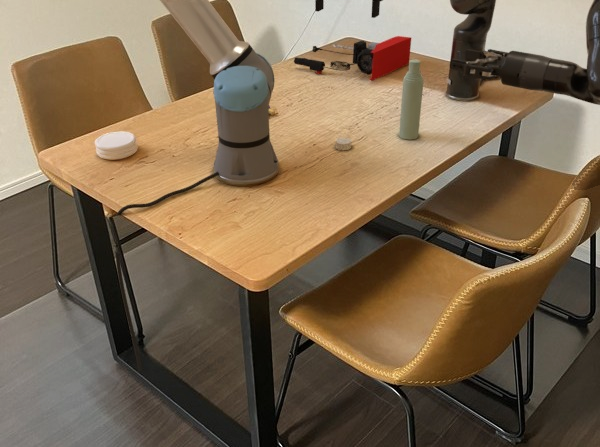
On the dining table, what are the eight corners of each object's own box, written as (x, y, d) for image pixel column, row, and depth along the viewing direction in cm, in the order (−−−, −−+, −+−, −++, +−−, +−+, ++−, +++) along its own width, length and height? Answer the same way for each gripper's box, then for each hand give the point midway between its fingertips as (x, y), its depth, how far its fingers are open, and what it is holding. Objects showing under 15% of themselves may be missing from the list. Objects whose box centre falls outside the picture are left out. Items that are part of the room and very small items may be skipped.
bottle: (401, 140, 159) (407, 64, 149) (396, 132, 163) (402, 58, 153) (420, 139, 160) (427, 63, 149) (415, 131, 164) (422, 57, 153)
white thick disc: (108, 164, 149) (105, 151, 148) (90, 151, 156) (87, 138, 154) (145, 152, 155) (143, 139, 153) (126, 139, 161) (123, 127, 159)
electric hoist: (292, 37, 203) (372, 52, 188) (336, 23, 221) (412, 36, 206) (292, 68, 208) (370, 85, 193) (335, 52, 226) (409, 66, 211)
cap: (354, 147, 156) (354, 141, 155) (342, 151, 154) (343, 145, 153) (343, 142, 158) (343, 136, 158) (332, 146, 156) (332, 140, 155)
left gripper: (287, -94, 129) (289, 11, 141) (401, -89, 119) (393, 23, 131) (303, -97, 135) (304, 4, 146) (413, -93, 125) (405, 14, 136)
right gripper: (540, 46, 139) (472, 35, 147) (519, 63, 129) (446, 50, 137) (534, 78, 143) (468, 66, 151) (513, 97, 133) (443, 83, 141)
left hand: (346, 13), depth 139 cm, fingers open, 13 cm apart
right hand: (458, 58), depth 144 cm, fingers open, 8 cm apart
